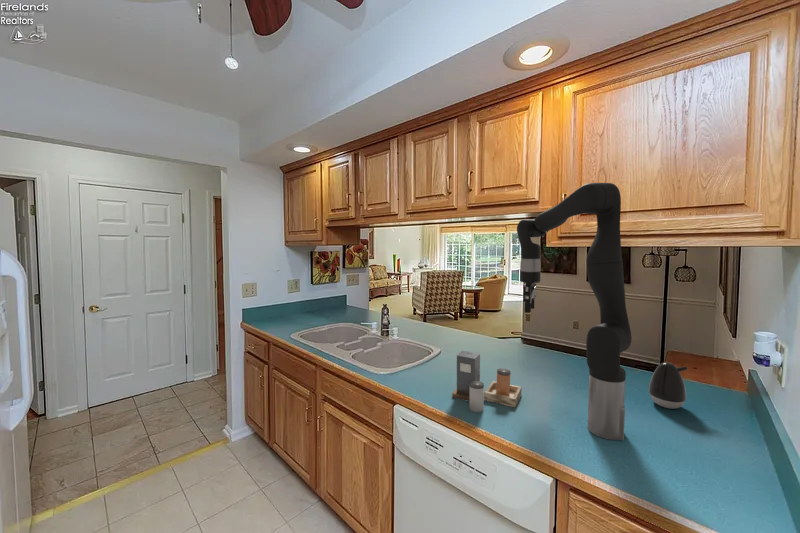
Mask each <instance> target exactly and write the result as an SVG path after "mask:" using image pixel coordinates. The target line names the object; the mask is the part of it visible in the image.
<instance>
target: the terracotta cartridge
mask: <svg viewBox="0 0 800 533" xmlns="http://www.w3.org/2000/svg"><path fill="white" fill-rule="evenodd" d="M511 374H512V373H511V370H509V369H507V368H500V367H499V368H497V369H496V382H497V383H496V394H500V395H505V396H510V385H511V376H512V375H511Z"/></svg>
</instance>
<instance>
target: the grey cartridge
mask: <svg viewBox="0 0 800 533" xmlns="http://www.w3.org/2000/svg"><path fill="white" fill-rule="evenodd" d="M484 392H485V384H484V382H483V381H481V380H480V381H471V382H470V396H469V401H468V403H469V410H470V411H471V412H473V411H474V412H473V413H482V412H483V411H484V408H485V406H484V405H485V403H484V402H485V400H484ZM481 411H482V412H481Z"/></svg>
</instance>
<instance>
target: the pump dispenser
mask: <svg viewBox="0 0 800 533" xmlns="http://www.w3.org/2000/svg"><path fill="white" fill-rule="evenodd" d="M683 371H688V367H687V366H681V367H677V366H676V365H675V364H673V363H672V362H668V361H667V362H661V363H659V365H657V366H656V369H655V370H654V372H653V374H652V376H651V378H650V380H649V386H648V393H649V396H650V398H651V400H652V401H653V402H654V403H655V404H656V405H657V406H659V407H662V408H666V409H672V410H675V409H680V408H681V407H682V406H683V405H684V404H685V402H686V401H687V390H686V389H687V388H686V385H685V380H684V379H683V378H684V377H683V376H682V374H681V372H683Z"/></svg>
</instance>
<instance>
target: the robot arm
mask: <svg viewBox="0 0 800 533" xmlns="http://www.w3.org/2000/svg"><path fill="white" fill-rule="evenodd" d="M621 200H622V197H621V192H620V189H619V187H618V186H617V185H616V184H615V183H612V182H589V183H585V184H583V185H581V186H579V187H578V188H577V189H575V190H574V191H573V192H572V193H571V194H570V195H568V196H567V197H566V198H565V199H563V200H561V201H560V202H559V203H557V204H556V205H554V206H553V207H551V208H548V209H546V210H545V211H543V212H541V213H539V214H537V216H535V218H533V219H531V218H524V219H521V220H520V221H518V223H517V226H516V233H517V237H518V240H519V241H518V242H519V244H520V245H519V246H520V250H521V251H520V254H521V255H520V266H519V268H520V269H519V270H520V271H519V273H520V274H519V282H521V283H525V286H523V298H522V301H523V303H524V313H527V314H528V313H531V312H532V310H534V309H535V300H536V297H537V283H539V284H540V282H541V276H542V275H541V274H542V272H541V271H542V268H541V266H542V264H541V246H540V244H538V243H535V242H533V241H532V238H540V237H543V236H544V235H546V234H547V233H548V232H549V231H551V230H554V229H556V228H559V227H560V226H562V225H563V224H565V222H566V221H567V220H568V219H569V218H571V217H575V216H578V215H579V216H580V215H584V214H586V215H596V223H597V224H596V225H597V226H596V234H595V237H594V239H593V241H592V243H591V245H590V247H589V250H588V252H587V255H586V273H587V279H588V283H589V286H590V288H591V290H592V293H593V294H594V295H595V299H597V302H598V306H599V313H600V314H599V315H600V323H599V324H597V325H593V326H592V327H591V328H590V329H589V330H588V332H587V334H586V343H585V344H586V345H585V346H586V348H585V349H586V350H585V351H586V364H587V366H588V369H589V370H588V372H589V373H588V376H589V377H588V397H587V398H588V399H587V401H588V403H587V421H586V422H587V429H588V431H589V432H590V433H592V434H593V435H594V436H596V437H599V438H602V439H606V440H610V441H611V440H614V441H617V440H620V441H624V440H625V419H626V417H625V416H626V407H625V403H626V402H625V400H626V399H625V398H626V396H625V395H626V379H627V378H626V376H627V374H626V370H625V368H624V367H622V366H621V353H623V352H625V351H627V350H628V349H629V348H630V346H631V344H632V342H633V341H632V340H633V339H632V331H631V330H632V329H631V325H630V323H629V322H630V321H629V316H628V312H627V306H626V291H625V290H626V289H625V281H624V280H625V279H624V277H625V275H624V265H623V264H624V263H623V261H624V260H623V254H622V241H621V240H622V239H621V209H622V206H621V205H622V201H621ZM546 231H547V233H546Z"/></svg>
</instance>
